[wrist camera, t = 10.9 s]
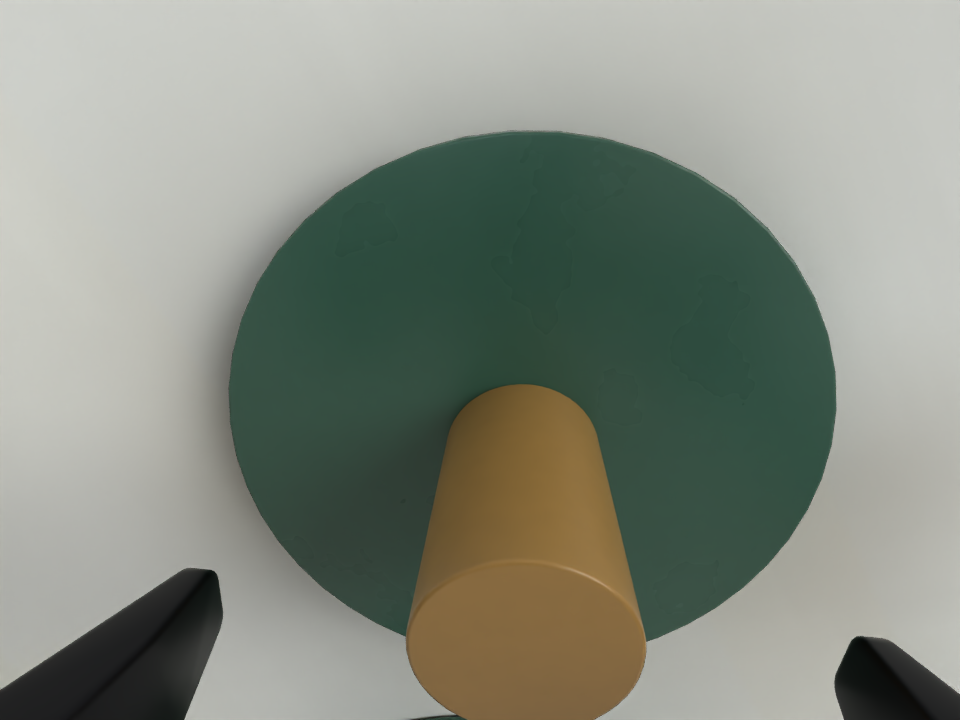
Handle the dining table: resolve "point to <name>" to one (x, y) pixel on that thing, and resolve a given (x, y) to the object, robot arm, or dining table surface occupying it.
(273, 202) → the dining table surface
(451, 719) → the tin
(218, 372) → the dining table surface
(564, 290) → the tin lid
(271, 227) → the dining table surface
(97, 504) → the dining table surface
